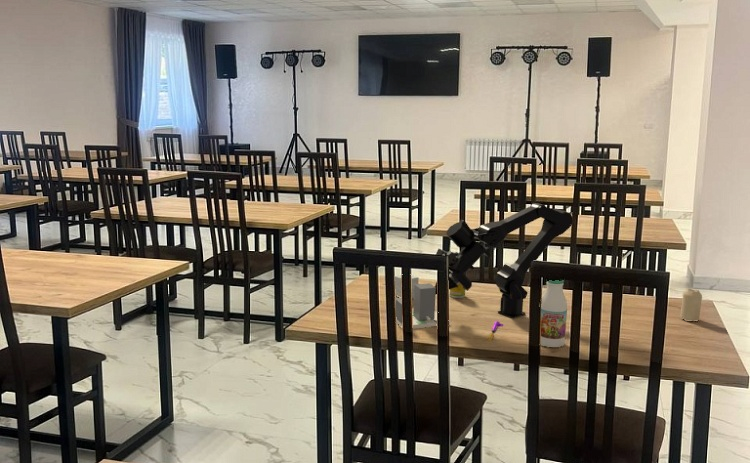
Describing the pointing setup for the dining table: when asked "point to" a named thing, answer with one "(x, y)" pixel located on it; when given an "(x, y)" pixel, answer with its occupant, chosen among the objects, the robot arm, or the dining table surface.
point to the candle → (691, 305)
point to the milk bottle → (553, 315)
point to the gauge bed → (416, 322)
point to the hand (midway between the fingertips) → (432, 293)
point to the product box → (398, 284)
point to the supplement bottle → (457, 291)
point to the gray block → (424, 301)
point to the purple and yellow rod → (494, 329)
